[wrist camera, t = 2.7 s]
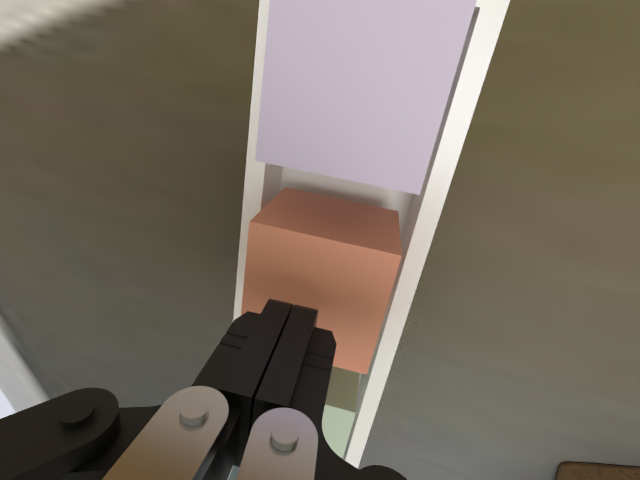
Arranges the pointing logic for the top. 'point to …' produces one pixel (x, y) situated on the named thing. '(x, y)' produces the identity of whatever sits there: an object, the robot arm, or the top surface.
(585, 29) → the top surface
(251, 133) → the frame
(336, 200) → the terracotta key
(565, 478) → the candle holder
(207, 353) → the top surface
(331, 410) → the sage green key
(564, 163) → the top surface
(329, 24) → the lavender block
